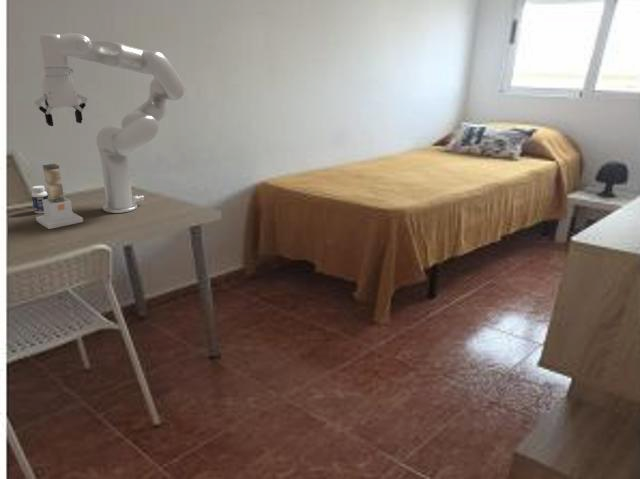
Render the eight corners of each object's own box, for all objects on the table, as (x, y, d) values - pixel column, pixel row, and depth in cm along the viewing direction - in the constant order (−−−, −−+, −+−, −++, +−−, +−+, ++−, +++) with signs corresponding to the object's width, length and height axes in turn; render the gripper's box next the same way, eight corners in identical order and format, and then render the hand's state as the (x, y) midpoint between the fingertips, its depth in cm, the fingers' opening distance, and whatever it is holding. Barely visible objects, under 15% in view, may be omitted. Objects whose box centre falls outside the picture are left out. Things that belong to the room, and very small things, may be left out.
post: (60, 202, 194) (54, 163, 189) (65, 205, 191) (58, 165, 186) (49, 205, 191) (42, 165, 186) (53, 207, 189) (46, 167, 183)
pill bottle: (38, 214, 200) (34, 189, 197) (31, 211, 203) (27, 187, 200) (53, 211, 204) (48, 186, 201) (45, 208, 207) (41, 184, 204)
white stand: (70, 214, 201) (66, 191, 198) (83, 221, 193) (79, 197, 190) (36, 220, 193) (32, 197, 190) (48, 229, 185) (44, 204, 182)
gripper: (78, 71, 188) (85, 120, 194) (25, 73, 176) (35, 125, 183) (87, 72, 183) (94, 123, 189) (33, 74, 171) (43, 128, 178)
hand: (65, 124), depth 186 cm, fingers open, 9 cm apart
